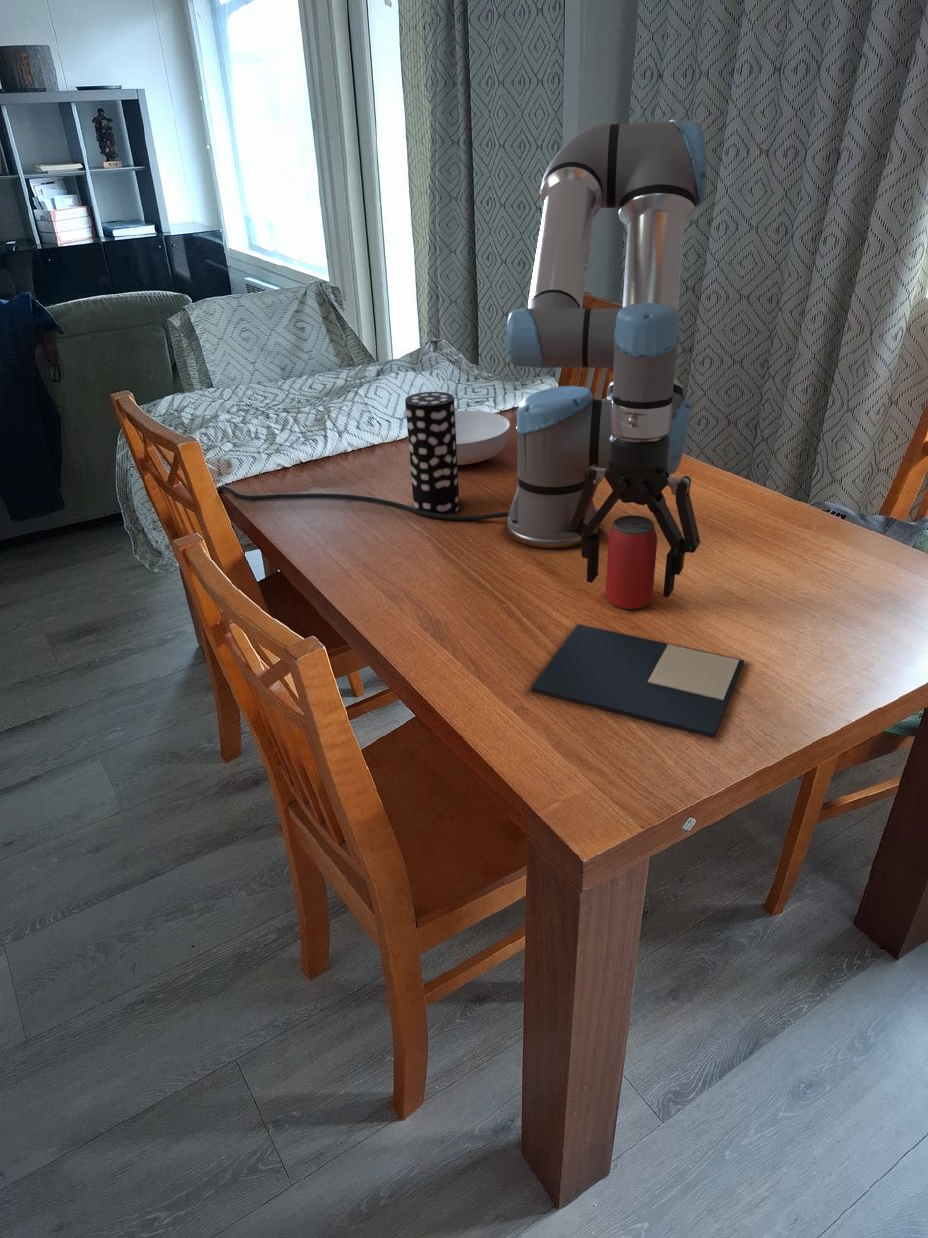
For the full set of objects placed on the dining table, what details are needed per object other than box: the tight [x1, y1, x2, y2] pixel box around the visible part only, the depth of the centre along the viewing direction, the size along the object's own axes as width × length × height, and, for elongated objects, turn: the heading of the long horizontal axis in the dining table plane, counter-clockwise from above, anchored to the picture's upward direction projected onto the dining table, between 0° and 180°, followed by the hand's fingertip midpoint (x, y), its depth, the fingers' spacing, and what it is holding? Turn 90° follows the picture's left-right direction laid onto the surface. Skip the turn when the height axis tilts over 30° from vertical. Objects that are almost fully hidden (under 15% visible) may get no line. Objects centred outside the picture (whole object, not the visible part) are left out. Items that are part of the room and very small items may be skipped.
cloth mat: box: [530, 624, 745, 739], centre depth 102 cm, size 22×16×1 cm
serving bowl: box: [455, 410, 511, 466], centre depth 170 cm, size 21×21×7 cm
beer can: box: [605, 514, 658, 610], centre depth 115 cm, size 7×7×12 cm
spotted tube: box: [404, 391, 460, 517], centre depth 145 cm, size 8×8×20 cm
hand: (629, 585), depth 117 cm, fingers open, 10 cm apart
